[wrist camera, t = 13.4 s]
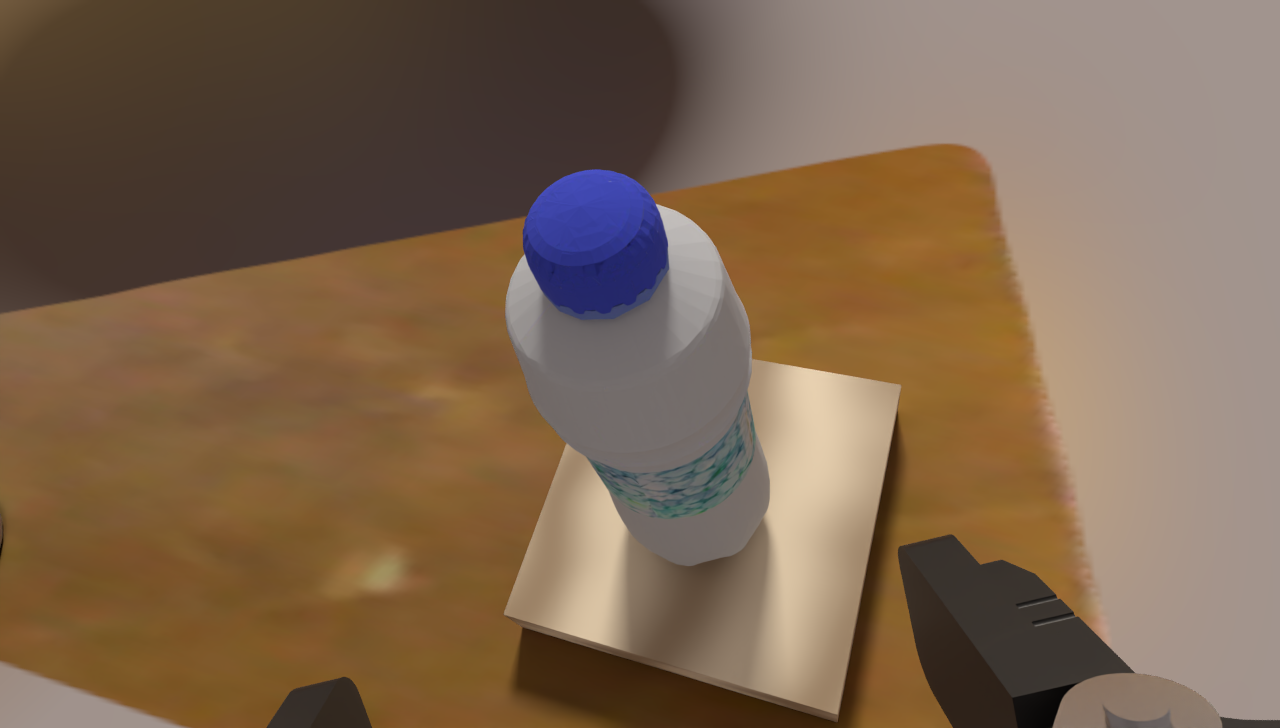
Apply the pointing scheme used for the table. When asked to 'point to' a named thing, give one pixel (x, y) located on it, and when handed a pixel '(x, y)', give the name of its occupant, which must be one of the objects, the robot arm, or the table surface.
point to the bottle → (642, 362)
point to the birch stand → (745, 582)
